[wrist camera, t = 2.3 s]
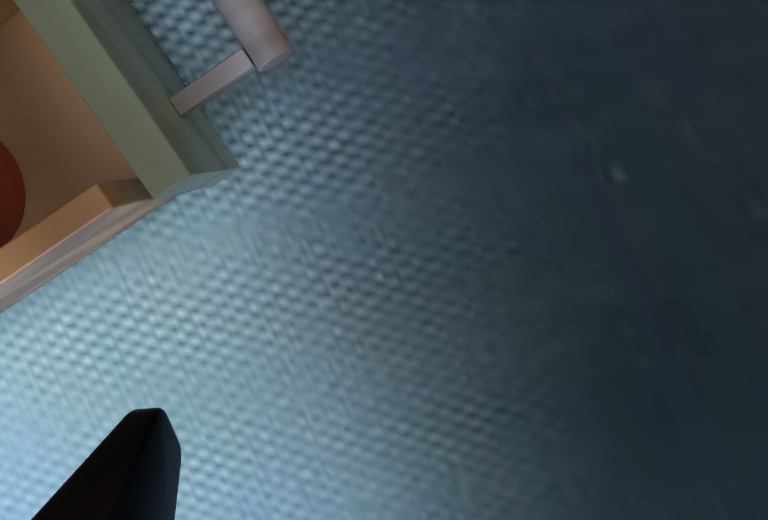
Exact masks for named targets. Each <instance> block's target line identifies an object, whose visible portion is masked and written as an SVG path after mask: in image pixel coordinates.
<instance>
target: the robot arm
mask: <svg viewBox="0 0 768 520" xmlns="http://www.w3.org/2000/svg"><path fill="white" fill-rule="evenodd" d="M180 467H181V448H180V444H179V441H178V439H177V437H176V434H175V432H174V430H173V428H172V425H171V423H170V421H169V419H168V416H167V414H166V413H165V411H164V410H163V409H161V408H147V409H136V410H133V411H131V412H130V413H128V414H127V415H126V416H125V417H124V418H123V419H122V420H121V421H120V423H119V424H118V425H117V426H116V427H115V428H114V429H113V430H112V431H111V432H110V434H109V435H108V436H107V437H106V438H105V439H104V440H103V441H102V442H101V443H100V445H99V446H98V447H97V448H96V449H95V450H94V451H93V452H92V453H91V455H90V456H89V457H88V458H87V459H86V460H85V461H84V462H83V463H82V464H81V466H80V467H79V468H78V469H77V470H76V471H75V472H74V473H73V474H72V475H71V477H70V478H69V479H68V480H67V481H66V482H65V483H64V484H63V485H62V486H61V488H60V489H59V490H58V491H57V492H56V493H55V494H54V495H53V496H52V497H51V499H50V500H49V501H48V502H47V503H46V504H45V505H44V506H43V507H42V508H41V510H40V511H39V512H38V513H37V514H36V515H35V516H34V517H33V518H32V519H31V520H174V519H175V510H176V502H177V493H178V484H179V475H180Z"/></svg>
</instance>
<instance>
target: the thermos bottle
mask: <svg viewBox="0 0 768 520" xmlns="http://www.w3.org/2000/svg"><path fill="white" fill-rule="evenodd" d="M23 210H24V186H23V181H22V178H21V174H20V172H19V169H18V167H17V164H16V163H15V161H14V159H13V157H12V156H11V154H10V153H9V151H8V150H7V149H6V147H5V146H4V145H3V144H2V143H1V142H0V247H2V246H3V245H4V244H6V243H7V242H9V241H10V239H11V238H12V237H13V235H14V234H15V232H16V230H17V229H18V226H19V224H20V222H21V219H22V215H23Z"/></svg>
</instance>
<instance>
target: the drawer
mask: <svg viewBox="0 0 768 520" xmlns="http://www.w3.org/2000/svg"><path fill="white" fill-rule="evenodd" d="M212 1H213V3H214V4H215V6H216V7H217V9H218V10H219V12H220V13H221V15H222V16H223V18H224V19H225V21H226V23H227V24H228V26H229V27H230V29H231V30H232V32H233V33H234V35H235V36H236V38H237V39H238V41H239V42H240V44H241V45H242V47H243V48H244V50H243V49H242V48H241V49H239V50H238V51H236V52H235V53H234V54H232V55H231V56H229V57H228V58H226V59H225V60H223V61H222V62H220V63H219V64H218V65H216V66H215V67H213V68H212V69H210V70H209V71H207V72H206V73H205V74H203V75H202V76H200V77H199V78H197V79H196V80H194V81H193V82H192V83H190V84H189V85H187V86H186V87H185V85H184V84H183V82H182V81H181V79H180V78H179V76H178V75H177V73H176V72H175V71H174V69H173V68H172V66H171V65H170V63H169V62H168V60H167V59H166V57H165V56H164V54H163V53H162V51H161V50H160V48H159V47H158V45H157V44H156V42H155V41H154V39H153V38H152V37H151V35H150V34H149V32H148V31H147V29H146V28H145V26H144V25H143V23H142V22H141V20H140V19H139V17H138V16H137V14H136V13H135V11H134V10H133V8H132V7H131V5H130V4H129V3H128V1H127V0H0V142H1V143H2V144H3V145H4V146H5V147H6V149H7V150H8V151H9V153H10V154H11V156H12V157H13V159H14V161H15V163H16V164H17V167H18V169H19V172H20V174H21V178H22V181H23V186H24V210H23V215H22V219H21V222H20V224H19V226H18V229H17V230H16V232H15V234H14V235H13V237H12V238H11V239H10V241H9V242H7V243H6V244H4V245H3V246H2V247H0V313H1V312H3V311H4V310H6V309H7V308H9V307H10V306H12V305H13V304H15V303H16V302H18V301H19V300H21V299H22V298H24V297H25V296H27V295H28V294H30V293H31V292H33V291H34V290H36V289H37V288H39V287H40V286H42V285H43V284H45V283H46V282H48V281H49V280H51V279H52V278H54V277H55V276H57V275H58V274H60V273H61V272H63V271H64V270H65V269H67V268H68V267H70V266H71V265H73V264H74V263H76V262H77V261H79V260H80V259H82V258H83V257H85V256H86V255H88V254H89V253H91V252H92V251H94V250H95V249H97V248H98V247H100V246H101V245H103V244H104V243H106V242H107V241H109V240H110V239H112V238H113V237H115V236H116V235H118V234H119V233H121V232H122V231H124V230H125V229H127V228H128V227H130V226H131V225H133V224H134V223H136V222H137V221H139V220H140V219H142V218H143V217H145V216H146V215H148V214H149V213H151V212H152V211H153V210H155V209H156V208H158V207H159V206H161V205H162V204H164V203H165V202H167V201H168V200H170V199H171V198H173V197H174V196H176V195H177V194H179V193H184V192H188V191H192V190H197V189H201V188H206V187H210V186H213V185H215V184H216V183H218V182H219V181H221V180H222V179H224V178H225V177H227V176H228V175H230V174H231V173H233V172H234V171H236V170H237V169H239V165H238V164H237V162H236V161H235V159H234V158H233V156H232V155H231V153H230V152H229V150H228V149H227V147H226V146H225V144H224V143H223V141H222V140H221V139H220V137H219V136H218V134H217V133H216V131H215V130H214V128H213V127H212V125H211V124H210V122H209V121H208V119H207V118H206V116H205V115H204V113H203V112H202V110H201V109H200V107H202V106H203V105H205V104H206V103H208V102H209V101H210V100H212V99H213V98H215V97H216V96H218V95H219V94H221V93H222V92H224V91H225V90H226V89H228V88H229V87H231V86H232V85H234V84H235V83H237V82H238V81H240V80H241V79H243V78H244V77H245V76H247V75H248V74H250V73H251V72H253V71H254V70H256V69H257V70H258V71H259V72H266V71H268V70H270V69H272V68H274V67H276V66H277V65H279V64H280V63H282V62H283V61H285V60H286V59H287V58H288V57H289V56H290V55H291V54H292V52H293V47H292V46H291V44H290V43H289V41H288V40H287V38H286V36H285V35H284V33H283V32H282V30H281V29H280V27H279V26H278V24H277V22H276V21H275V19H274V18H273V16H272V15H271V13H270V11H269V10H268V8H267V7H266V5H265V4H264V2H263V1H262V0H212Z"/></svg>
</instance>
